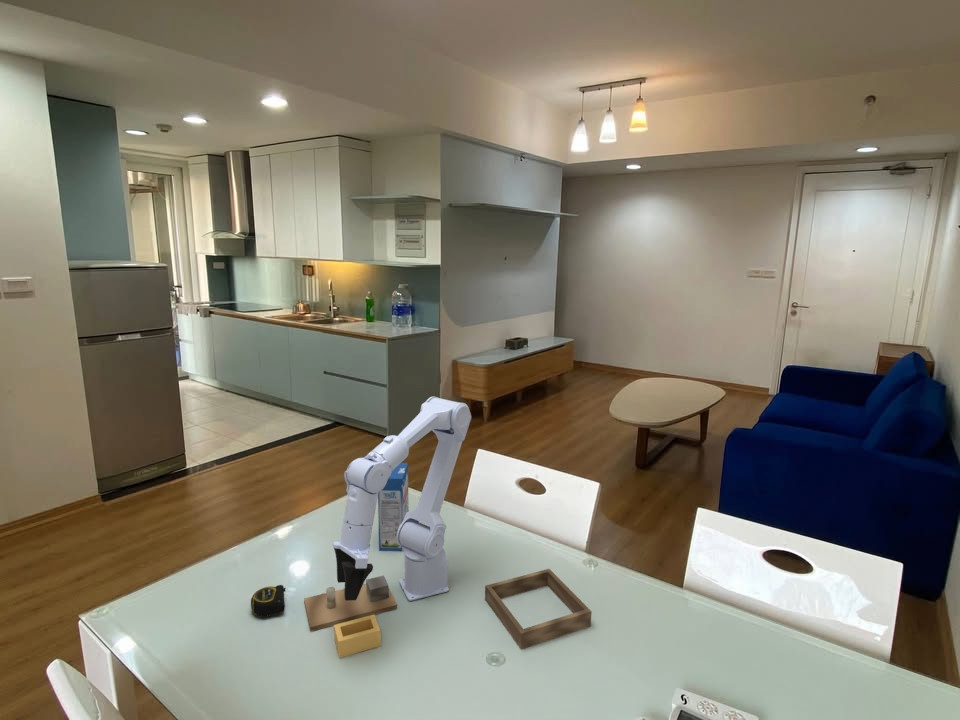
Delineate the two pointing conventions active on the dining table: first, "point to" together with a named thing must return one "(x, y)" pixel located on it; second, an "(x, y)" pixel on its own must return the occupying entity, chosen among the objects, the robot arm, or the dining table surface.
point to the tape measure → (268, 601)
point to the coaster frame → (543, 630)
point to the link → (357, 635)
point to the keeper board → (349, 604)
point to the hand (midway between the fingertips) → (346, 590)
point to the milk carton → (392, 508)
